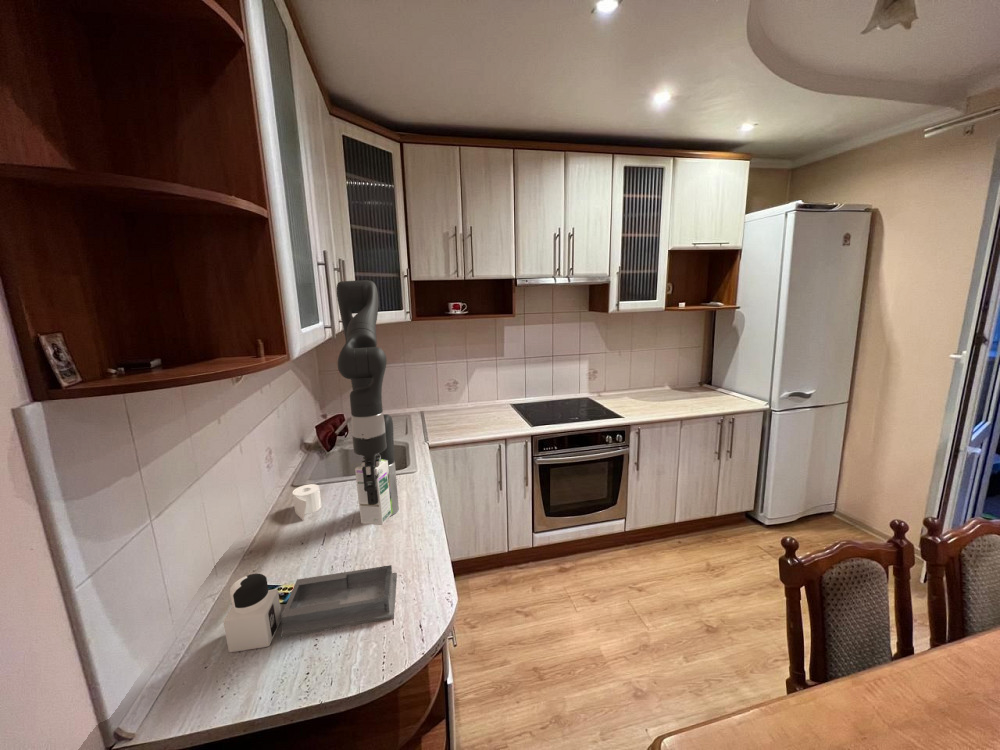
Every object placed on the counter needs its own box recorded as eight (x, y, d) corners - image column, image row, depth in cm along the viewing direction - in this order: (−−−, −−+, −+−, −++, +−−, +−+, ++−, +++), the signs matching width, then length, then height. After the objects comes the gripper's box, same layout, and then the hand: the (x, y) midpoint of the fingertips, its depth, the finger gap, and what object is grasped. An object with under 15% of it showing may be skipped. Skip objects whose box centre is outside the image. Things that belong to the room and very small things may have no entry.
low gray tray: (300, 591, 98) (298, 576, 97) (396, 575, 103) (395, 562, 102) (281, 637, 85) (279, 621, 84) (394, 617, 89) (392, 602, 88)
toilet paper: (303, 521, 130) (300, 501, 128) (291, 508, 138) (288, 490, 136) (328, 511, 135) (326, 492, 134) (316, 500, 143) (313, 481, 142)
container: (282, 618, 90) (274, 566, 87) (269, 647, 82) (260, 591, 80) (245, 623, 89) (236, 571, 86) (228, 653, 81) (217, 597, 79)
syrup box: (382, 525, 96) (377, 468, 93) (359, 523, 97) (354, 467, 94) (393, 513, 101) (388, 459, 99) (371, 511, 103) (366, 458, 100)
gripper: (356, 424, 101) (362, 485, 104) (347, 443, 87) (354, 513, 90) (387, 421, 103) (392, 482, 106) (383, 439, 89) (388, 508, 92)
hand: (374, 496), depth 98 cm, fingers closed on syrup box, 7 cm apart
